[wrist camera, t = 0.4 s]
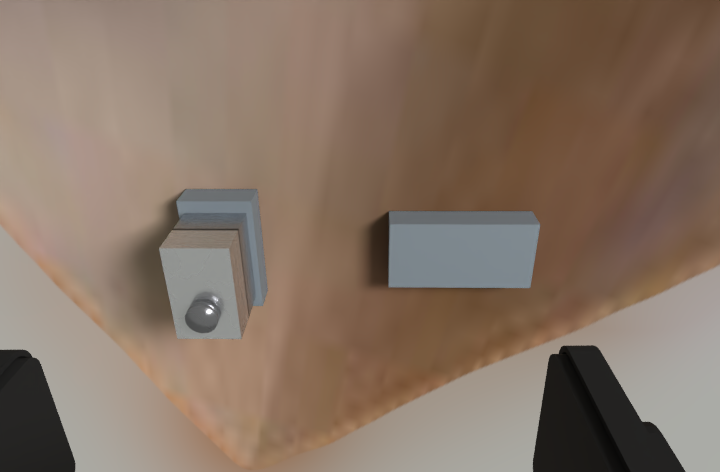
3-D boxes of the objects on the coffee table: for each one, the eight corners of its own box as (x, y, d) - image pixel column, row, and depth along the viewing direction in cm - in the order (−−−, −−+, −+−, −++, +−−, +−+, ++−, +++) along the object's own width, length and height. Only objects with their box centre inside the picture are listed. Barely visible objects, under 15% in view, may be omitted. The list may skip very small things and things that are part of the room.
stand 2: (389, 211, 46) (389, 224, 44) (532, 211, 46) (540, 224, 44) (388, 271, 49) (388, 287, 47) (522, 272, 49) (530, 287, 47)
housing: (184, 212, 44) (153, 255, 38) (246, 212, 44) (225, 255, 38) (198, 296, 48) (173, 346, 42) (255, 296, 48) (238, 347, 42)
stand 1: (185, 189, 46) (176, 201, 44) (257, 189, 46) (251, 201, 44) (202, 289, 51) (194, 305, 48) (267, 290, 50) (262, 305, 48)
